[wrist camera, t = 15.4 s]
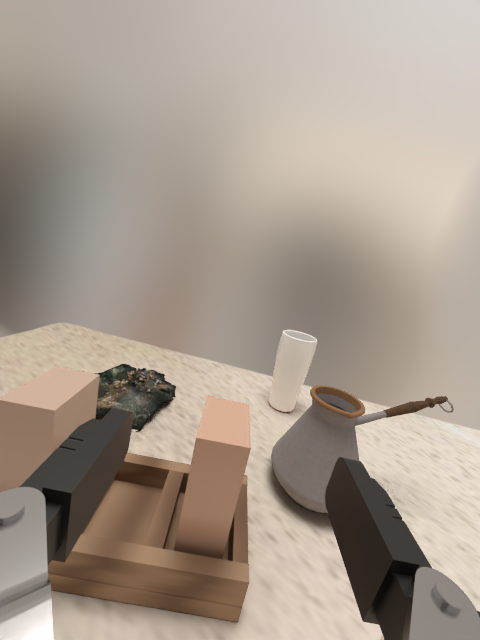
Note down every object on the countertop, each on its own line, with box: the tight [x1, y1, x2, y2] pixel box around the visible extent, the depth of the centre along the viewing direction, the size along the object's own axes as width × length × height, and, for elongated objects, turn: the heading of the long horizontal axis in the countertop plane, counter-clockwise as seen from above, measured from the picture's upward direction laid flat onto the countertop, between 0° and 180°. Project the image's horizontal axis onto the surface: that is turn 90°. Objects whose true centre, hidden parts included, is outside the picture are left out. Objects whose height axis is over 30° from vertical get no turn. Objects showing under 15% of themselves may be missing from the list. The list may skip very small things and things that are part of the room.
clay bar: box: [174, 396, 251, 559], centre depth 23 cm, size 4×6×12 cm, turn 179°
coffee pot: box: [271, 386, 454, 513], centre depth 34 cm, size 21×12×15 cm, turn 98°
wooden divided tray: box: [48, 453, 249, 622], centre depth 24 cm, size 22×10×4 cm, turn 89°
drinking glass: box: [269, 330, 317, 412], centre depth 52 cm, size 7×7×15 cm
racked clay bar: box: [0, 366, 100, 493], centre depth 23 cm, size 4×6×12 cm, turn 179°
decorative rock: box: [83, 364, 176, 432], centre depth 46 cm, size 19×6×15 cm
